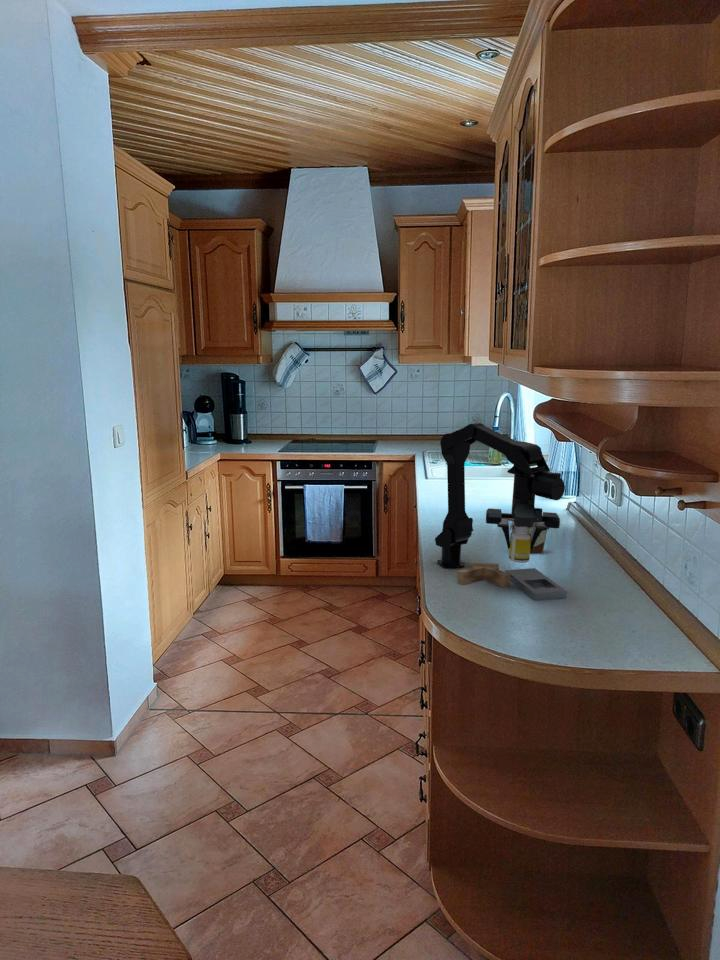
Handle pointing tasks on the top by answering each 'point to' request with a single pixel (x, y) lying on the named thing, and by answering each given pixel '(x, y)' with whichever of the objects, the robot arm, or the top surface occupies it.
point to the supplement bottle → (520, 545)
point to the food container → (540, 541)
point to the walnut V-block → (484, 574)
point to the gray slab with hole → (536, 584)
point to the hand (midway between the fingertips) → (519, 549)
